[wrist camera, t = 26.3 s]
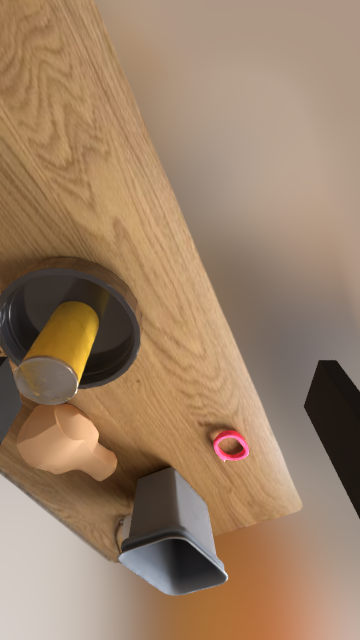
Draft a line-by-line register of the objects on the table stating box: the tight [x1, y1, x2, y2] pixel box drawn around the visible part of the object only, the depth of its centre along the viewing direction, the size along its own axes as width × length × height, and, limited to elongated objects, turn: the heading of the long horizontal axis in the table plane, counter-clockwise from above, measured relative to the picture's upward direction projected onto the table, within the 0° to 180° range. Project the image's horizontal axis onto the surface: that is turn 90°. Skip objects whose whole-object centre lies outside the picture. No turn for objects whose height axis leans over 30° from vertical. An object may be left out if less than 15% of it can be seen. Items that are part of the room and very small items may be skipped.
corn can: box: [14, 301, 99, 405], centre depth 38 cm, size 6×6×13 cm
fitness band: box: [212, 430, 249, 461], centre depth 59 cm, size 8×6×2 cm
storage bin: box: [118, 468, 228, 595], centre depth 61 cm, size 21×16×14 cm
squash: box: [16, 403, 117, 481], centre depth 53 cm, size 11×20×9 cm, turn 31°
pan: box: [0, 257, 142, 389], centre depth 42 cm, size 19×19×4 cm
